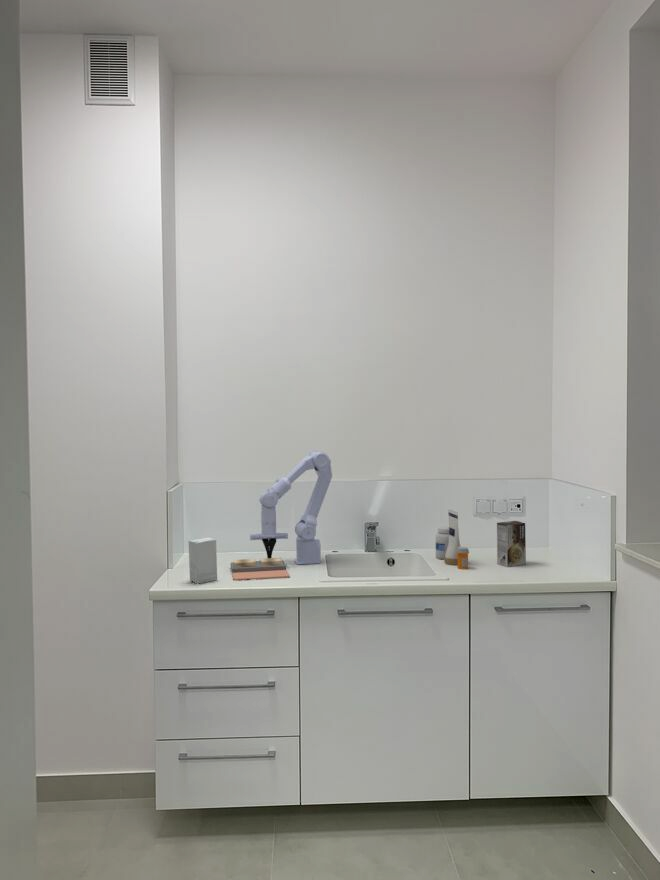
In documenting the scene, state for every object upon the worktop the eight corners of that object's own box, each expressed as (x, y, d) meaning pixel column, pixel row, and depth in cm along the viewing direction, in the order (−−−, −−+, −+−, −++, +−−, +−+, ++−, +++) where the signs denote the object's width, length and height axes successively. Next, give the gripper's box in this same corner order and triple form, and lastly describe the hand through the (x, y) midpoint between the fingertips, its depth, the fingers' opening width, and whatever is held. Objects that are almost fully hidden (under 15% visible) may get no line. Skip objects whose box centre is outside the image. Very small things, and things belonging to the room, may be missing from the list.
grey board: (282, 565, 272) (282, 559, 272) (286, 571, 261) (286, 565, 261) (230, 567, 268) (230, 562, 268) (232, 574, 257) (232, 568, 257)
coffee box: (515, 561, 273) (515, 520, 273) (526, 564, 267) (526, 522, 267) (496, 564, 269) (496, 522, 269) (507, 567, 263) (507, 524, 263)
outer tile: (254, 563, 267) (254, 558, 267) (256, 566, 261) (256, 562, 261) (233, 564, 265) (233, 559, 265) (234, 567, 259) (234, 563, 259)
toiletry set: (432, 556, 284) (432, 506, 284) (450, 555, 286) (450, 505, 285) (455, 570, 260) (455, 515, 259) (474, 569, 261) (474, 514, 261)
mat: (286, 571, 261) (286, 569, 261) (290, 577, 251) (289, 575, 251) (232, 574, 257) (232, 572, 257) (233, 580, 247) (233, 579, 247)
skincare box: (209, 577, 253) (208, 536, 252) (218, 580, 248) (217, 538, 247) (188, 581, 247) (187, 539, 247) (196, 584, 243) (196, 541, 242)
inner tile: (281, 561, 269) (280, 557, 269) (282, 564, 263) (282, 560, 263) (260, 562, 267) (260, 558, 267) (261, 566, 261) (261, 561, 261)
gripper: (250, 525, 266) (251, 560, 267) (288, 523, 269) (289, 558, 270) (249, 522, 273) (250, 557, 274) (286, 521, 276) (286, 555, 277)
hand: (269, 557), depth 272 cm, fingers closed
